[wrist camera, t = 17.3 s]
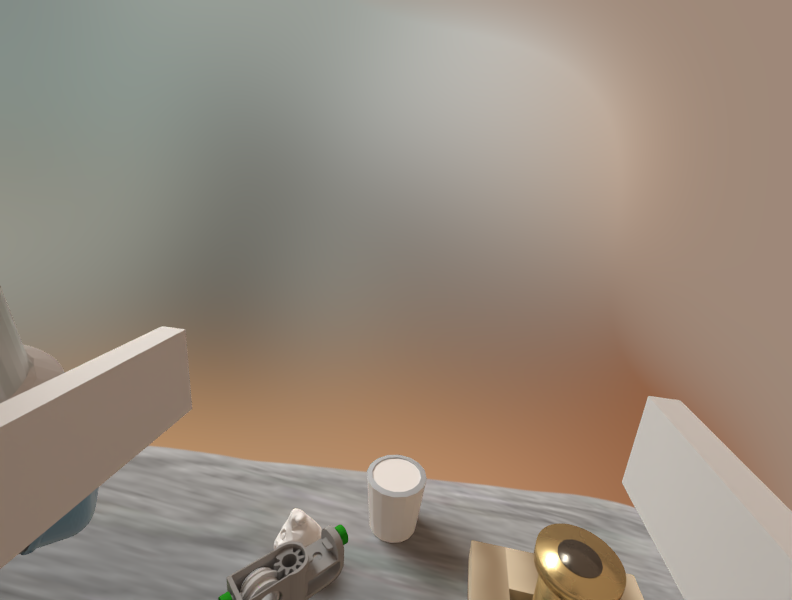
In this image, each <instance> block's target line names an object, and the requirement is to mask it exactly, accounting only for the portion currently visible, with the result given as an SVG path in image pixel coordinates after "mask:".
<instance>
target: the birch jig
mask: <svg viewBox="0 0 792 600" xmlns="http://www.w3.org/2000/svg"><path fill="white" fill-rule="evenodd" d="M537 578H538V572H537V569H536V567H535V563H534V554H533V553H529V552H524V551H520V550H515V549H510V548H506V547H501V546H497V545H492V544H487V543H483V542H478V541H473V540H472V541H471V548H470V554H469V560H468V600H533V595H534V591H535V587H536V583H537ZM621 600H644V599H643V596H642V594H641V592H640V589H639V587H638V584H637V582H636V580H635V577H634V575H630V574H626V587H625V590H624V593H623V596H622V599H621Z"/></svg>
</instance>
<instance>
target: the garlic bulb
mask: <svg viewBox="0 0 792 600" xmlns="http://www.w3.org/2000/svg"><path fill="white" fill-rule="evenodd" d="M321 532H322V528H321V527H320V526H319V525H318V524H317V523H316V522H315V521H314V520H313V519H312V518H311V517H310V516H308V515H306V514H305V512H304V511H302V510H300V509H297V508H295V509H293V510H292V511H291V513H290V516H289V518H288V520H287V521H286V523H285V524H284V525H283V527H282V530H281V531H280V533H279V534H278V536H277V538H276V540H275V542H274V550H275V549H276V548H277V547H278V546H279V545H281V544H283V543H285V542H289V541H296V542H300V543H302V544H303V546H304V547H305V548H306V547H307V546H309V545H311V544H312V543H314V542H316V541H317V540H319V539H321ZM317 555H318V554H317ZM317 555H315V556H317ZM315 556H313V558H314V557H315Z"/></svg>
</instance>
